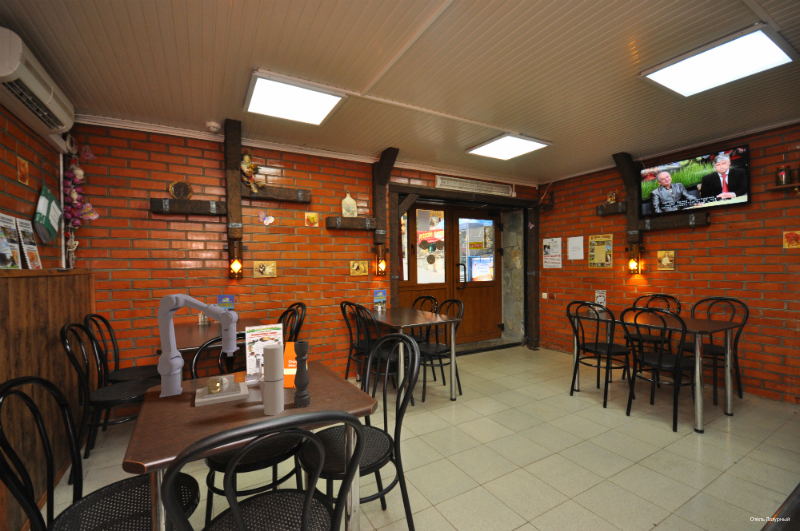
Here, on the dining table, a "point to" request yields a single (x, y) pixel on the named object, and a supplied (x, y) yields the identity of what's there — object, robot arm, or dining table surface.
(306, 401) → the candle holder
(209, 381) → the brass weight
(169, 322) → the robot arm
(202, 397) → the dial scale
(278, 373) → the cylindrical container
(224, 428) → the dining table surface
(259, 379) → the smoothie
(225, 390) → the scale pan
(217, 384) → the brass weight
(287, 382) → the orange juice
